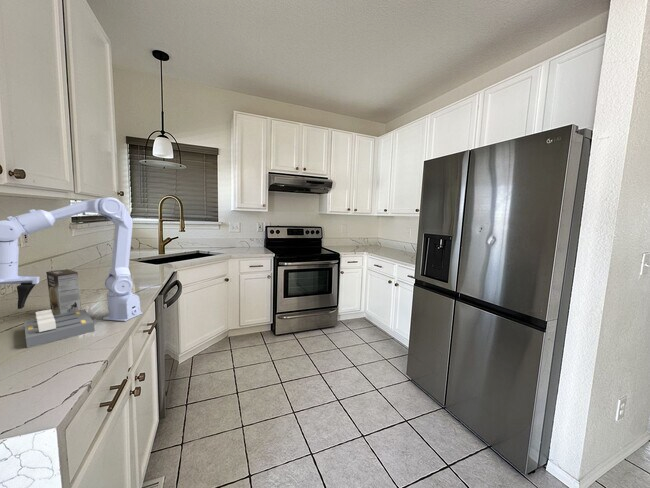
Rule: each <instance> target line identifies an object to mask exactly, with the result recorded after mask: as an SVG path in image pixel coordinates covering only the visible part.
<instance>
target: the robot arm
mask: <svg viewBox="0 0 650 488" xmlns="http://www.w3.org/2000/svg"><path fill="white" fill-rule="evenodd" d="M83 213H90V214H91V213H94V214H98V215H100V216H103V217H105V218H107V219H108V220H109V221H110V222H111V223H113V225H114V226H115V227H114V237H113V238H114V239H113V247H112V258H111V267H110V269H109V271H108V276H107V277H106V279H105V280H104V286H105V288H106V289H108V292H107V294H106V296H107V297H106V298H107V308H108V309H107V310H108V315H107V316H104V317H102V321H103V320H104V321H106V320H107V321H118V322H127V321H129V320H131V319H134V318H135V317H138V316H140V315H142V314H143V311H142V310H141V300H140V296H139V295H138V294H135V293H133V292H132V290H133V287H134V284H133V281H132V278H131V271H130V269H129V267H130V258H131V245H132V237H133V227H134V226H133V225H134V224H133V223H134V221H133V219H132V217H131V215H130V214H129V211H128V210H127V208H126V205H125V204H124V202H121V201H120V200H119V199H118V198H115V197H111V196H110V197H109V196H107V197H98V198H93V199H87V200H82V201H78V202H76V203H72V204H70V205H66V206H63V207H59V208H57V209H53V210H50V211H47V210H44V209H37V210H36V209H29V210H28V212H26V213H23V214H19V215H16V216H12V215H9V216H7V217H6V219H7V220H5V219H4V220H0V285H17V286H16V289H17V290H16V291H17V310H22V309H23V308H24V307H25V303H26V301H27V299H28V297H29V296H30V293H31V291H32V290H33V288H34V287H35V286H36V285H37V284H39V283H40V276H25V275H19V254H20V246H18V244H19V243H18V242H19V238H20V237H21V235H24V236H27V235H31V234H32V233H33V234H34V233H36V232H39V231H42V230H46V229H49V228H52V227H53V226H54V224H55V222H56V221H59V220H63V219H67V218H70V217H74V216H77V215H81V214H83Z"/></svg>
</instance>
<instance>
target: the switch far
mask: <svg viewBox="0 0 650 488" xmlns="http://www.w3.org/2000/svg"><path fill="white" fill-rule="evenodd" d="M47 314H52V311H51V308H49V309H44V310H40V311H39V310H38V311H35V319H36V320H37V316H42V315H47Z"/></svg>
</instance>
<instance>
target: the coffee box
mask: <svg viewBox="0 0 650 488" xmlns="http://www.w3.org/2000/svg"><path fill="white" fill-rule="evenodd" d="M46 280H47V281H46V282H47V288H48V296H49V305H50V309H51V311H52V313H53V315H59V314H64V313H69V312H74V311H79V310H82V306H81V305H82V304H81V303H82V302H81V295H80V294H81V291H80V282H79V271H75V270H71V269H68V268H67V269H57V270H51V271H50V270H49V271H46Z"/></svg>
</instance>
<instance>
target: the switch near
mask: <svg viewBox="0 0 650 488" xmlns="http://www.w3.org/2000/svg"><path fill="white" fill-rule="evenodd" d="M55 328H56V323H55V319H54V318H52V319H47V320H42V321H38V329H39V332H42V331H47V330H51V329H55Z"/></svg>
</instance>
